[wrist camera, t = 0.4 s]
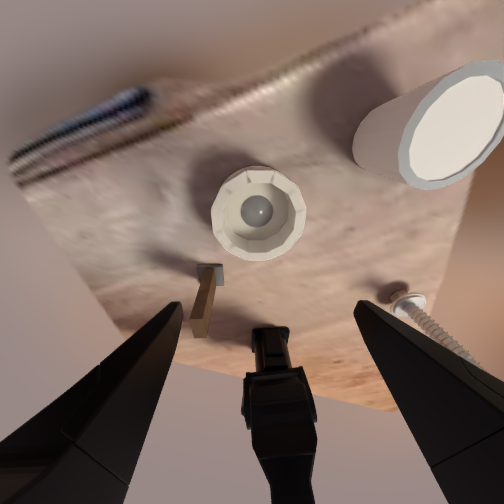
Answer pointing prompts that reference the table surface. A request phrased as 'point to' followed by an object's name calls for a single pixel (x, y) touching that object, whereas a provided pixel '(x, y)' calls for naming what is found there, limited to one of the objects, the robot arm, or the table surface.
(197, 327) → the brown wooden handle
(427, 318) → the screw
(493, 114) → the white tapered cylinder
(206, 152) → the table surface
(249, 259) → the white bowl
